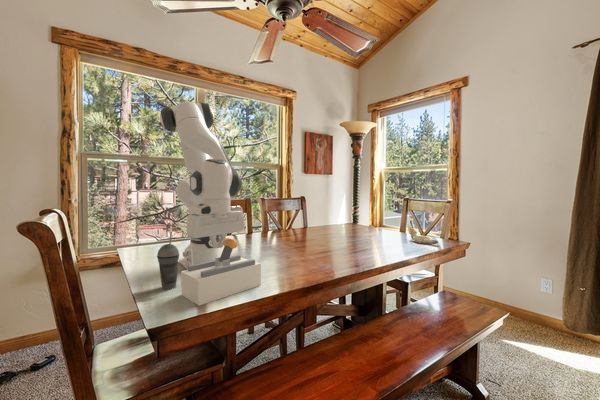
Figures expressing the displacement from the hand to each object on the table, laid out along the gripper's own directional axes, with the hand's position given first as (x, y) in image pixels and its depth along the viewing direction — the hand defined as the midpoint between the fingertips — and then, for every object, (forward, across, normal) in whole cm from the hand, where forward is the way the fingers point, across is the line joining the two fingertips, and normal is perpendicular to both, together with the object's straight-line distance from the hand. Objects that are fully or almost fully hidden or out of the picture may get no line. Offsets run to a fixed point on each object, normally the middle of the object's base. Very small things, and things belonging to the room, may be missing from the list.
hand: (217, 247), depth 97 cm
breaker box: (+15, -2, 0) cm, 15 cm away
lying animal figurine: (+16, -129, +22) cm, 131 cm away
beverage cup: (+15, +10, -16) cm, 25 cm away
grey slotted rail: (+7, -2, 0) cm, 8 cm away
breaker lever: (+6, -2, 0) cm, 6 cm away
